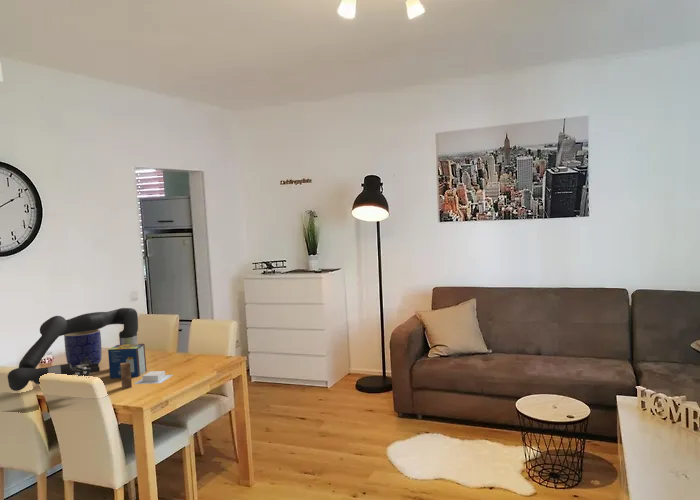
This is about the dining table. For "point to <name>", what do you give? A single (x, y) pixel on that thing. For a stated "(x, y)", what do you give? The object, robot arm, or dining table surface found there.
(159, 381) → the blueprint mat
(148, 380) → the plinth
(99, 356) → the planter
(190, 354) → the dining table surface
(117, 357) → the protein box
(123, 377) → the walnut column
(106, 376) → the dining table surface
